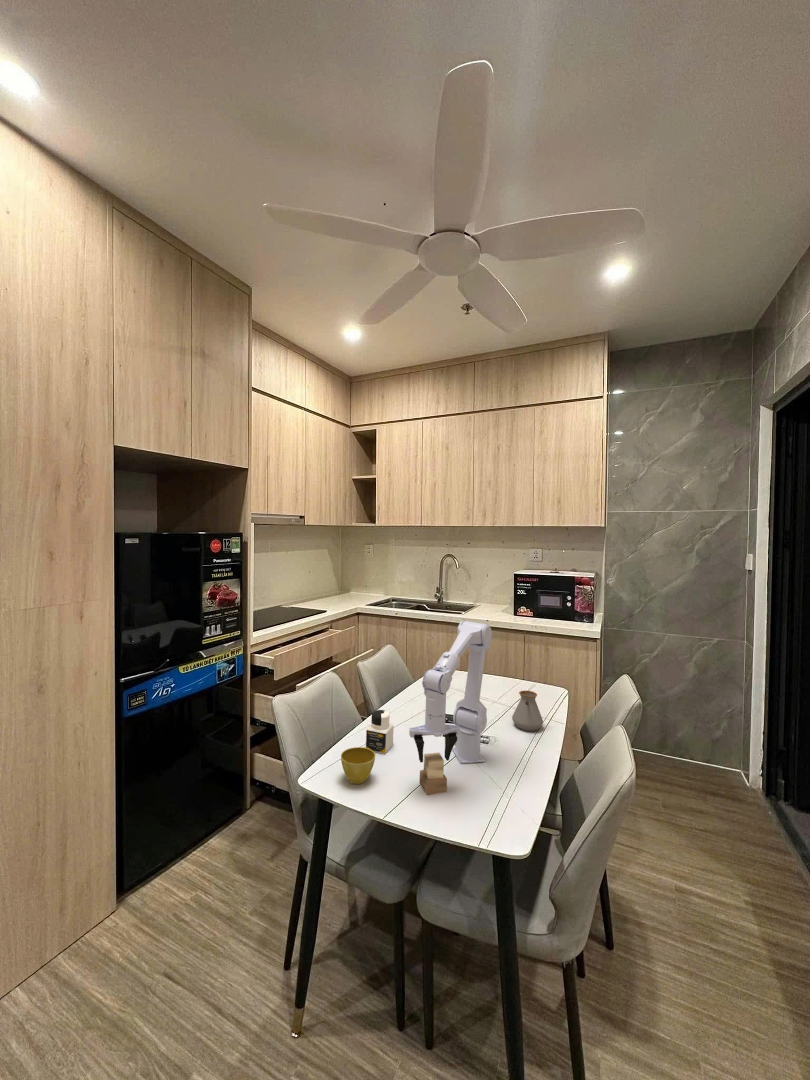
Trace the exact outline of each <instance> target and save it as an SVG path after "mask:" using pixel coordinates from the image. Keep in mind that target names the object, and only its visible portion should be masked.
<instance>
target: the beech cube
mask: <svg viewBox="0 0 810 1080" xmlns="http://www.w3.org/2000/svg"><path fill="white" fill-rule="evenodd" d="M444 768H445V760H444V758H443V756H442V755H441V754H440V752H430V753H423V770H424V772H425V774H426V776H427V778H428V779H438V778H443V774H444V772H445V771H444ZM444 775H445V774H444Z"/></svg>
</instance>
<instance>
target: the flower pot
mask: <svg viewBox="0 0 810 1080" xmlns="http://www.w3.org/2000/svg"><path fill="white" fill-rule="evenodd" d="M375 760H376V752H374V751H372V750H370V749H368V748H366V747H361V746H357V747H356V746H355V747H350V748H346V749H344V751H342V752H341V754H340V761H341V766H342V769H343V771H344V772H343V773H344V774H345V777H346V778H347V780H348V782H349V783H350V784H352V785H353V784H354V785H361V784H363V783H365V782H366V781H367V779H368V777H369V776H370V774H371V772H372V770H373V767H374V764H375Z"/></svg>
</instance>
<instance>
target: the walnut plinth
mask: <svg viewBox="0 0 810 1080" xmlns="http://www.w3.org/2000/svg"><path fill="white" fill-rule="evenodd" d="M419 785H420V786H421V789H422V790H423V792H424V793H425V794H426V795H425V796H431V795H436V794H442V793H447V792H448V791H447V790H448V777H447V776H446V775H445V774H443V778H438V779H428V778H427V776H426V774H425V772H424V769H421V770H419Z"/></svg>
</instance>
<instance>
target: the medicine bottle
mask: <svg viewBox="0 0 810 1080" xmlns="http://www.w3.org/2000/svg"><path fill="white" fill-rule="evenodd" d="M370 723H371V724H370V725H369V726H368V727H367V728H366V734H365V735H366V736H365V748H368V749H370V750H372V751H373V752H374V753H378V754H383V755H385V754H387V753H388V751H389V750H390V749H391V748H392V746H393V745H394V724H393V723H390V712H389V711H387V710H384V709H377V710H374V711H373V712H372V713H371V722H370Z"/></svg>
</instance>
